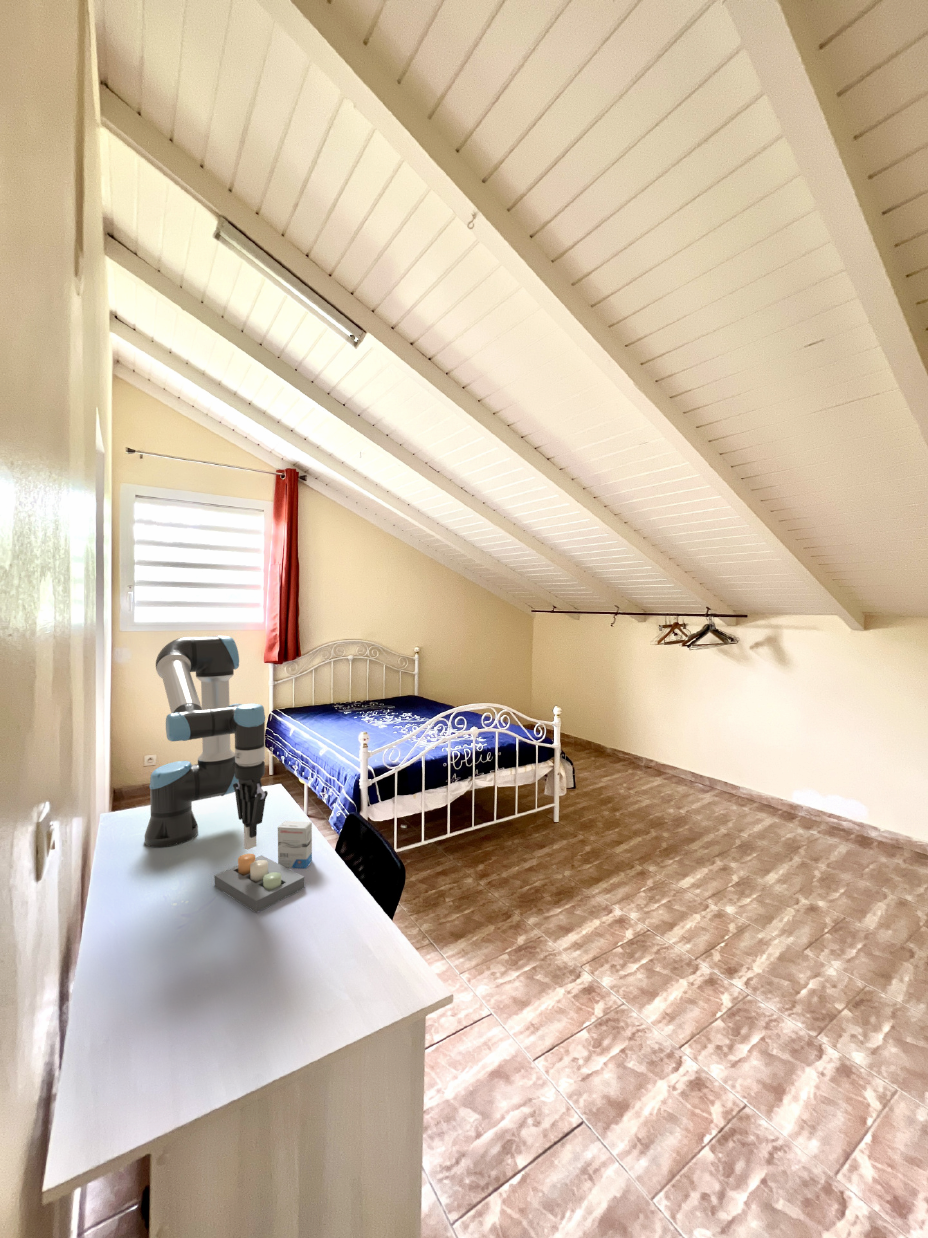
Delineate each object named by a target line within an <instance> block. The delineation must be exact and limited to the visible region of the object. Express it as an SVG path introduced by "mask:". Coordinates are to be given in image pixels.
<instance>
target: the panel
mask: <svg viewBox="0 0 928 1238" xmlns="http://www.w3.org/2000/svg"><path fill="white" fill-rule="evenodd" d="M258 860H266V861H268V874H269V873H272V872H278V873H280V874H281V885H280V886H278V887H276V888H274V889H272V890H270V891H269V890H267V889H265V888H264V887H263V880H262V881H260V882H257V883H255V882H253V881H251V880H250V873H249V874H247V875H244V876H243V875H241V874H239V873H238V865H236V866H235V865H234V866H233V867H231V868H228V869H226V870H224V871H221V872H218V873H217V874H214V876H213V877H214V878H213V881H214V884H213V885H214V886H213V887H215V888H216V889H218V890H220V892H222V893H224V894H226V895H227V896H229V897H230V898H232V899H233V900H236V901H237V902H239V903H240V904H242V905H243V906H245V907H247V908H248V909H249V910H251V911H253V912H255V913H256V914H257V913H259V912H261V911H264V910H265V909H267V908H269V907H270V906H272V905H275V904H277V903H279V902H280V901H282V900H284V899H286V898H288V897H290V896H292V895H293V894H296V893H298V892H299V891H301V890H303V889H305V888H306V887H305V883H306V882H305V876H304V875H302V874H299V873H297V872H295V871H294V870H291V869H290V868H286V867H284V866H282V865H280V864H278V862H276V861H274V860H272V859H270V858H268V857H266V856H264V855H263V854H262V855H258V856H255V861H258Z"/></svg>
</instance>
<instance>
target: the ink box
mask: <svg viewBox="0 0 928 1238" xmlns="http://www.w3.org/2000/svg"><path fill="white" fill-rule="evenodd" d="M312 827H313V822H312V821H310V822H309V821H291V820H290V821H289V820H285V821H283V822H282V823H281V824H280V825H279V826H278V827H277V863H278V864H280V865H282V866H284V867H286V868H288V869H290V868H291V869H307V868H308V867H309V865H310V864H311V863H312V861H313V834H312V833H313V832H312V831H313V828H312Z"/></svg>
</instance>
